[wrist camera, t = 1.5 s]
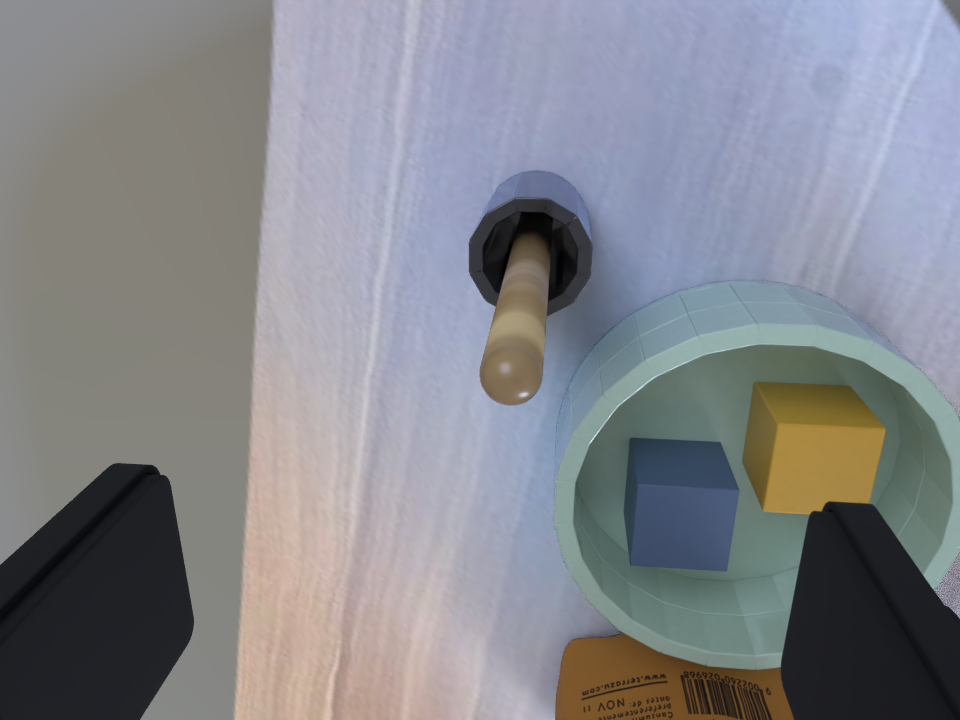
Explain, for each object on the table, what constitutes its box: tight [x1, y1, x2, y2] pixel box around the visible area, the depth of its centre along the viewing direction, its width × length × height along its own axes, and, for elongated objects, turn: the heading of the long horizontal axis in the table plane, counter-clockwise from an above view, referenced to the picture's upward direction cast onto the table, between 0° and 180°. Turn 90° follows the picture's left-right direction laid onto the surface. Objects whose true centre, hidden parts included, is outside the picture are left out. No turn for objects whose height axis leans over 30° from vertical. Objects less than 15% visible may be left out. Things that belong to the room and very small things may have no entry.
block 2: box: [742, 382, 886, 515], centre depth 31 cm, size 4×4×4 cm
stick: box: [480, 212, 552, 405], centre depth 24 cm, size 1×1×16 cm
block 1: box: [624, 438, 740, 572], centre depth 33 cm, size 4×4×4 cm
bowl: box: [553, 280, 960, 670], centre depth 32 cm, size 16×16×6 cm
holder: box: [469, 170, 593, 316], centre depth 29 cm, size 4×4×6 cm
